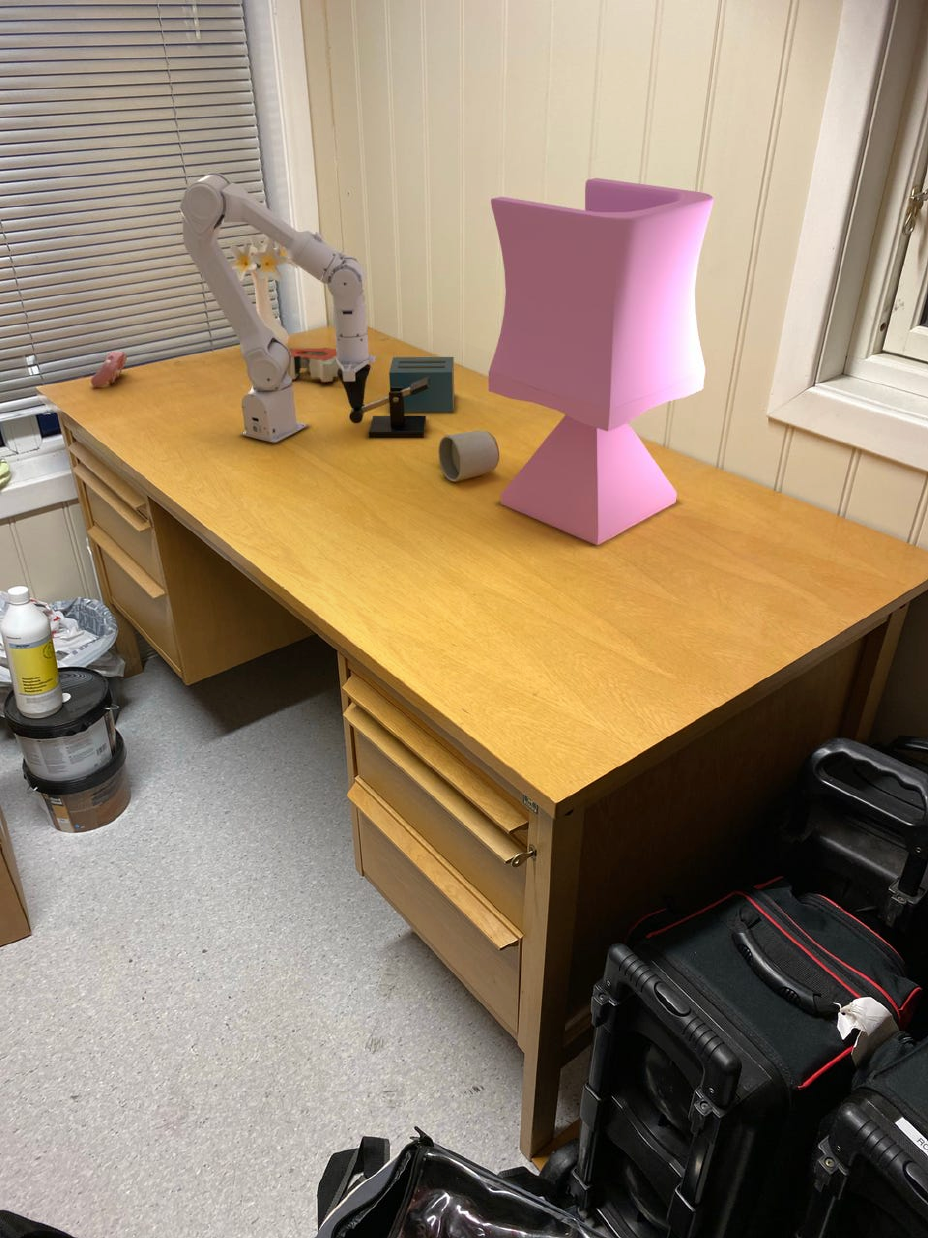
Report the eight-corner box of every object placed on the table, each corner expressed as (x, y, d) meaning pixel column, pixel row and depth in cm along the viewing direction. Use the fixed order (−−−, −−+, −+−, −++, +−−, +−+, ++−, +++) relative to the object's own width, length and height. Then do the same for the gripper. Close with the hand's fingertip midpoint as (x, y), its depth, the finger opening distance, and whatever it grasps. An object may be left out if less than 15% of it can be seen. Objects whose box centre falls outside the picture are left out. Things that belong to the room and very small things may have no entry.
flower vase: (217, 356, 214) (199, 239, 200) (289, 339, 223) (276, 227, 210) (244, 371, 205) (226, 249, 192) (318, 353, 215) (306, 236, 201)
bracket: (369, 438, 174) (366, 397, 169) (373, 421, 180) (370, 382, 176) (423, 437, 173) (422, 397, 169) (426, 421, 180) (424, 381, 176)
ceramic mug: (502, 476, 159) (502, 433, 155) (461, 488, 155) (460, 444, 151) (468, 456, 166) (467, 414, 162) (428, 467, 163) (426, 424, 159)
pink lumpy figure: (110, 395, 198) (118, 365, 195) (88, 385, 197) (96, 355, 194) (125, 379, 207) (133, 350, 203) (104, 369, 206) (112, 341, 202)
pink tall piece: (578, 461, 164) (595, 177, 139) (688, 502, 150) (728, 195, 125) (488, 503, 151) (488, 198, 126) (599, 552, 137) (623, 220, 113)
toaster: (391, 412, 184) (388, 371, 180) (395, 396, 192) (392, 356, 187) (453, 412, 184) (452, 371, 179) (454, 395, 191) (453, 356, 187)
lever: (352, 425, 174) (346, 414, 173) (356, 415, 178) (350, 404, 177) (430, 393, 170) (425, 381, 169) (432, 383, 174) (426, 371, 173)
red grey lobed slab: (357, 360, 215) (270, 368, 207) (356, 336, 212) (268, 343, 204) (384, 380, 201) (292, 389, 193) (384, 355, 198) (291, 363, 191)
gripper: (369, 345, 161) (374, 421, 168) (377, 320, 173) (382, 392, 180) (328, 345, 161) (335, 421, 169) (339, 320, 173) (345, 392, 181)
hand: (356, 406), depth 175 cm, fingers closed, pressing on lever
